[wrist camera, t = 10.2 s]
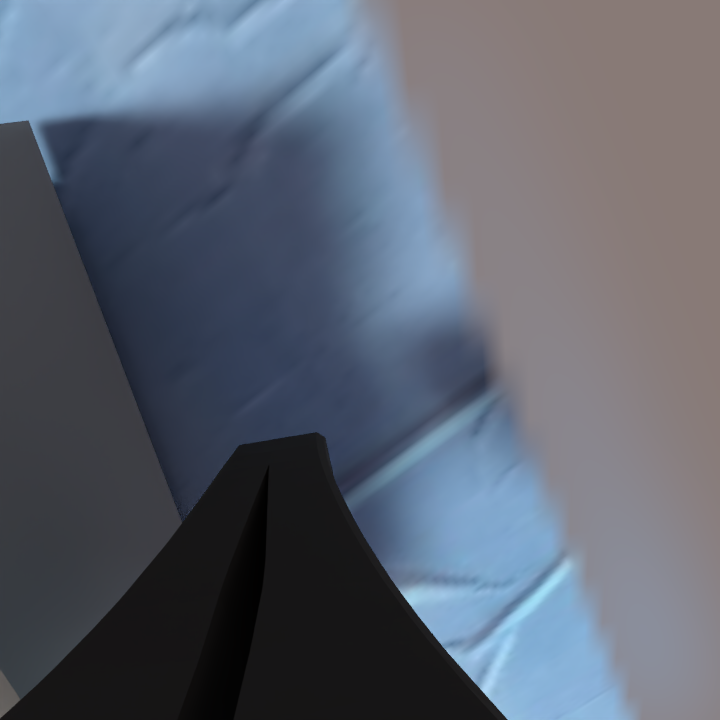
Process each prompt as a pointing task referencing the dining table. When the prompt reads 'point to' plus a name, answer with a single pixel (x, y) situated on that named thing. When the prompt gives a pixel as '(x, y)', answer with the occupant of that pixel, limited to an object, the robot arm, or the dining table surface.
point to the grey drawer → (62, 438)
